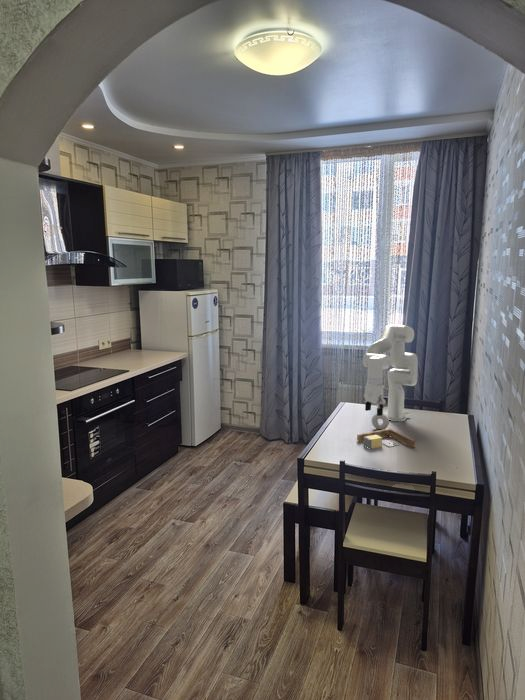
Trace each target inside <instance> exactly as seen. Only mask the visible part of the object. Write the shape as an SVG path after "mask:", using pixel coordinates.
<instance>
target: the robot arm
mask: <svg viewBox="0 0 525 700" xmlns="http://www.w3.org/2000/svg"><path fill="white" fill-rule="evenodd" d="M414 338H415V330H414V329H413V328H412V327H410V326H409V325H405V324H388V325H386V326H384V327H383V330H382V332H381V334H380V337H379V340H377V341H375V342H374V343H372V344H370V345H369V346H368V347H367V348H366V350H365V353H364V355H363V357H362V364H363V366H364V367H365V368H367V379H366V380H367V381H366V383H365V388H364V393H363V400H364V403H365V406H364V407H365V409H364V410H365V411H367V412H368V411H371V410H372V404H373V405H376V406H377V408H376V414H377V416H381V415H383V414H384V407H386V406H385V405H386V403H387V414H385V415H386V416H387V417H388V419H389V420H391V421H390V422H396V421H398V422H405V421H406V419H407V417H406V415H410V411H408V410H407V411H405V390H404V388H403V386H410V387H414V386H416V385H417V383H418V377H419V376H418V373H419V372H418V368H419V367H418V366H419V365H418V363H419V362H418V361H419V360H418V356H417V355H416V353H413V352H406V351H405V347H406V346H405V343H412V342H413V341H414ZM386 352H389V355H388V354H382V353H386ZM390 366H391V367H394V368H391V369H389V370H388V372H387V383H388V384H387V385H388V392H387V393H388V395H387V401H386V400H385V398H384V385H383V374H384V370H386V369H388V368H389V367H390Z"/></svg>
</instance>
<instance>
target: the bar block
mask: <svg viewBox="0 0 525 700" xmlns="http://www.w3.org/2000/svg"><path fill="white" fill-rule="evenodd" d="M382 439H383V438H382V437H380V436H378V435H371V436H366V437H364V442H363V447H365V446H366V447H365V448H367V447H368V448H372V449H375V448H374V447H377V448H380V447H379V446H382V447H383V444H382ZM368 448H367V449H368Z"/></svg>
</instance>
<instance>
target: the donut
mask: <svg viewBox="0 0 525 700" xmlns="http://www.w3.org/2000/svg"><path fill="white" fill-rule="evenodd" d="M386 415H387V414H385V413H383V415H381V416H377V413H375V414H373V416H372V418H371V424H372V426H373V427H374V428H375V429H376V430H379V429H382V430H385V429H388V427H389V424H390V421H389V419H388V417H387V416H386ZM378 420H382V423H379V421H378Z"/></svg>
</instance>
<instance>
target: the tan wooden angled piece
mask: <svg viewBox="0 0 525 700" xmlns="http://www.w3.org/2000/svg"><path fill="white" fill-rule="evenodd" d="M371 435H378V436H380V437H385V438H388V437H387V436H391V437H392V439H393V438H394V439H393V440H395V439H396V441H397V440H398V441H397V442H399V441H400V442H399V443H401V442H402V443H401V444H403V443H404V445H405V444H406V446H407V445H408V447H409V446H410V447H409V448H411V447H412V448H411V449H414V448H416V440H415V439H413V438H411V437H409V436H407V435H404V434H403V433H401V432H399V431H396V430H394V429H392V428H386V429H383V430H379V429H378V430H374V431H370V432H369V431H368V432H364V433H359V434H356V436H357V437H356V441H357V440H358V441H364V437H366V436H371ZM391 437H390V438H391ZM394 442H395V441H393V445H394V446H393V447H397V446H396V445H398V446H400V444H399V443H397V442H395V443H394ZM389 444H390V443H389ZM385 447H387V445H386V446H385Z"/></svg>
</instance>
